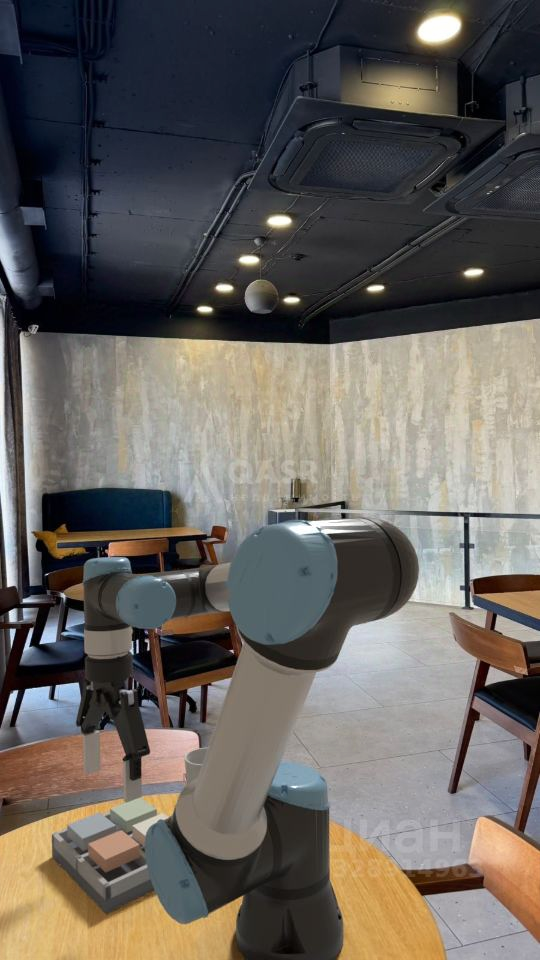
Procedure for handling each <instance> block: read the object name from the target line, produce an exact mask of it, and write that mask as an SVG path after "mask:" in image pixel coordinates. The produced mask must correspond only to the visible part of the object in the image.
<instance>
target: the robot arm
mask: <svg viewBox="0 0 540 960" xmlns="http://www.w3.org/2000/svg"><path fill="white" fill-rule="evenodd" d="M132 572H133V571H132V567H131V561H130V560H129V558H127V557H125V556H122V557H121V556H109V557H108V556H107V557H106V556H105V557H96V558H95V557H94V558H90V559H88V560H86V561H85V563H84V564H83V577H82V578H83V580H82V586H83V589H82V590H83V611H84V612H83V614H84V629H83V636H84V638H83V640H84V642H83V644H84V653H85V654H87V655H86V657H84V671H85V672H84V673H85V675H84V677H83V687H82V688H83V689H82V693H81V697H80V700H79V701H80V703H79V707H78V711H77V716H76V719H75V725H76V727H77V728H79V727H80V733H81V734H83V735H82V741H83V742H82V744H83V745H82V750H83V751H82V753H83V757H82V758H83V775H85V776H87V775H90V774H93V773H96V772H99V771H101V769H102V768H101V767H102V766H101V732H100V731H99V729H101V728H102V727H101V725H100V723H101V720H103V719H102V718H103V716H104V714H105V713H106V714H107V715H108V716H107V717H108V718H109V720H112V721H113V724H114V726H115V728H116V732H117V734H118V738H119V740H120V743H121V746H122V748H123V752H124V756H123V758H122V759H121V760H122V770H123V771H122V777H123V802H124V803H127V802H130V801H132V800H135V799H137V798H143V791H142V790H143V789H142V787H143V786H142V782H143V781H142V778H143V777H142V775H143V772H142V771H143V770H142V758H143V757H146V756H149V755H150V754H151V749H150V745H149V744H150V743H149V740H148V737H147V733H146V729H145V723H144V721H143V716H142V712H141V708H140V704H139V693H138V689H136V688H135V689H130V690H128V689H127V683H126V681H127V679H128V678H130V677H132V675H133V673H134V668H133V667H134V665H133V664H134V663H133V660H134V659H133V653H132V652H131V650H132V649H133V640H132V639H133V633H134V630H133V628H136V629H143V630H144V629H147V630H154V629H158V628H160V627H163V625H165V624H166V623H168V622H169V621H172V620H178V619H184V618H185V619H186V618H189V617H196V616H201V615H208V614H218V613H227V612H230V614H231V617H232V620H233V623H234V624H235V626H236V631H237V634H238V636H239V638H240V640H241V642H242V643H243V644H242V646H241V650H240V653H239V655H238V658H237V660H236V665H235V668H234V670H233V672H232V676H231V679H230V682H229V685H228V688H227V691H226V693H225V697H224V700H223V702H222V706H221V708H220V712H219V715H218V718H217V720H216V723H215V726H214V729H213V731H212V735H211V738H210V741H209V743H208V746H207V748H208V749H207V752H206V755H205V758H204V761H203V764H202V767H201V770H200V773H199V776H198V778H196V779H194V780H193V781H191V782H190V783H188V784H187V783H186V785H185V786H184V788H183V789H181V792H180V793H179V795H178V798H177V800H176V804H175V806H174V809H173V811H172V814H171V816H168V817H169V818H167V819H165V820H162V819H160V820H158V821H157V823H155V824H153V825H151V826H150V827H149V828H148V830H147V832H146V836H145V857H146V863H147V868H148V872H149V875H150V879H151V882H152V885H153V887H154V890H153V891H154V892H155V895H156V896H157V899H158V901H159V902H160V905H161V906H162V908H163V909H164V911H165V912H166V914H167V915H168V916H169V917H170V918H171V919H172V920H174V921H175V922H177V923H178V924H181V925H188V924H191V923H194V922H195V921H198V920H200V919H202V918H203V919H204V918H208V917H209V915H210V914H212V913H214V912H216V911H218V910H220V909H221V908H223V907H225V906H227V905H228V904H230V903H233V902H234V901H236V900H237V899H239V898H241V897H242V901H241V905H240V907H239V909H238V912H237V915H236V922H235V938H236V939H235V940H236V944H237V948H238V949H239V952H240V954H241V955H242V956H243V957H244V958H245V960H335V959H336V957H338V955H339V954H340V952H341V950H342V949H343V946H344V945H343V944H344V940H345V939H344V936H345V935H344V919H343V914H342V911H341V908H340V906H339V904H338V903H339V902H338V899H337V897H336V893H335V891H334V888H333V884H332V881H331V871H330V865H331V864H330V859H331V858H330V856H331V855H330V808H331V805H330V802H329V795H328V794H329V792H328V783H327V780H326V779H325V777H324V776H323V775H322V774H321V773H320V772H319V771H318V770H316V769H314V768H312V767H310V766H307V765H305V764H301V763H297V762H293V761H285V760H283V757H284V755H285V753H286V750H287V747H288V745H289V742H290V740H291V738H292V734H293V732H294V729H295V728H296V724H297V722H298V719H299V717H300V716H301V715H300V714H301V712H302V709H303V707H304V705H305V702H306V699H307V696H308V695H309V692H310V689H311V686H312V684H313V682H314V679H315V677H316V674H317V673H319V672H322V671H325V670H328V669H329V668H331V667H333V665H334V664H335V663H336V662H337V660H338V658H339V655H340V653H341V652H342V651H341V650H342V648H343V645H344V643H345V641H346V639H347V636H348V633H349V631H350V630H351V629H352V628H353V627H355V626H359V625H362V624H367V623H370V622H376V621H379V620H382V619H383V620H384V619H387V618H388V617H389V616H391V615H393V614H396V613H397V612H398V611H400V610H401V609H402V608H403V607H404V606H405V605H406V604H407V603H408V602H409V601H410V600H411V598H412V596H413V594H414V593H415V591H416V588H417V586H418V582H419V575H420V565H419V558H418V555H417V552H416V549H415V546H414V545H413V544H412V542H411V540H410V539H409V537H408V536H407V535H406V534H405V533H404V532H403V531H402V530H401V529H399V528H398V527H397V526H396V525H394V524H392V523H390V522H389V521H386V520H383V519H380V518H375V517H370V516H360V517H359V516H358V517H353V518H352V517H351V518H350V517H349V518H337V519H322V520H304V519H290V520H286V521H283V522H279V523H273V524H268V525H265V526H261V527H260V528H258V529H257V528H256V530H253V532H251V533H250V534H248V536H246V537H245V538H244V539H243V541H242V542H241V543H240V544H239V546H238V547H237V549H236V551H235V552H234V554H233V557H232V559H231V561H230V562H227V563H222V564H221V563H220V564H214V565H209V566H204V567H196V568H190V569H189V568H187V569H179V570H171V571H160V572H150V573H141V574H138V573H137V574H136V573H132Z"/></svg>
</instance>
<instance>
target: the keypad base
mask: <svg viewBox="0 0 540 960" xmlns="http://www.w3.org/2000/svg"><path fill="white" fill-rule="evenodd" d="M101 814H102V815H104V816H105V817H106V818H107V819H109V820H110V811H107V812H106V813H101ZM159 814H160V813H157V815H159ZM110 821H111V820H110ZM111 822H112V823H114V822H113V821H111ZM114 824H115V823H114ZM115 825H116V824H115ZM120 830H122V831H124V830H123V829H121V828H120V827H119V826H118V825H116V832H118V831H120ZM124 832H125V831H124ZM125 833H126V832H125ZM126 834H127V835H128V836H130V837H131V838H132V831H130V832H127V833H126ZM132 839H133V840H135V839H134V838H132ZM135 841H136V840H135ZM136 842H137V841H136ZM137 843H138V844H140V843H139V842H137ZM51 857H52V859H53V860H54V861H55V862H56V863H57V864H58V865H59V866H60V867H61V868H62V869H63V870H64V872H66V874H67V875H68V876H70V878H71V879H72V880H73V881H74V882H75V883H76V884H77V885H78V887H80V889H81V890H83V891H84V893H86V895H88V897H89V898H90V899H91V900H92V901H93V902H94V903H95V904H96V906H98V907H99V908H100V910H102V911H103V913H104V914H105V915H106V914H107V915H108V914H109V913H111V912H114V911H115V910H117V909H120V908H121V907H123V906H125V905H127V904H129V903H131V902H133V901H136V900H138V899H139V898H141V897H143V896H145V895H147V894H149V893H151V892H153V891H155V890H154V887H153V885H152V882H151V879H150V875H149V872H148V868H147V863H146V857H145V847H144V846H142V845H141V844H140V857H139V858H137V859H135V860H132V861H130V862H128V863H126V864H124V865H121V866H119V867H117V868H115V869H113V870H110V871H108V872H106V873H105V872H104V871H103V870H102V869H101V868H100V867H99V866H98V865H97V864H96V863H95V862H94V861H93V860H92V859H91V858H90V857H89V856H88V849H87V850H84V851H82V850H81V849H80V848H79V847H78V846H77V845H76V844H75V843H74V842H73V841H72V840H71V839H70V838H69V837H68V836H67V827H66V828H63V829H61V830H59V831H56V832H54V833H51Z"/></svg>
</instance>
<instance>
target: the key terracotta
mask: <svg viewBox="0 0 540 960" xmlns="http://www.w3.org/2000/svg"><path fill="white" fill-rule="evenodd" d="M88 856H89V857H90V858H91V859H92V860H93V861H94V862H95V863H96V864H97V865H98V866H99V867H100V868H101V869H102V870H103V871H104V872H105V873H106V872H108V871H110V870H113V869H115V868H117V867H119V866H121V865H124V864H126V863H128V862H130V861H132V860H135V859H137V858H139V857H140V844H138V843H137V842H136V841H135V840H133V839H132V838H131V837H130V836H128V835H127V834H126V833H125V832H124V831H122V830H120V831H118V832H116V833H113V834H111V835H108V836H106V837H103V838H101V839H98V840H96V841H94V842H91V843H89V844H88Z"/></svg>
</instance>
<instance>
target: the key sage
mask: <svg viewBox="0 0 540 960" xmlns="http://www.w3.org/2000/svg"><path fill="white" fill-rule="evenodd" d="M157 811H158V809H157V808H156V807H155V806H153V805H152V804H150V803H149V802H147V801H146V800H144V798H143V797H140V798H137V799H135V800H132V801H130V802H127V803H126V802H124V803H120V804H117V805H115V806H113V807H110V808H109V812H110V820H111V821H113V822H114V823H115V824H116V825H118V826H119V827H120V828H121V829H123V830H124V831H125V832H126V833H127V832H130V831H132V826H133V825H135V824H137V823H140V822H142V821H145V820H147V819H150V818H152V817H154V816H157V814H158V813H157Z"/></svg>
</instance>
